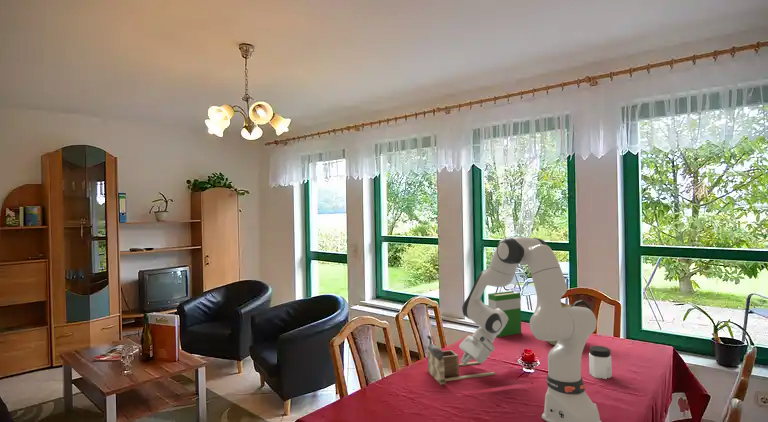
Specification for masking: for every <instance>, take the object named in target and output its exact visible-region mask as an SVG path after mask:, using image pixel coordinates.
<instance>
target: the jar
mask: <svg viewBox="0 0 768 422" xmlns="http://www.w3.org/2000/svg"><path fill="white" fill-rule="evenodd" d="M588 364H589V366H588V367H589V368H588V369H589V375H590V376H592V377H593V378H595V379H601V378H602V379H601V380H607V378H608V379H611V378H612V377H613V373H612V371H613V370H612V369H613V368H612V367H613V366H612V354H611V349H610V348H609V347H606V346H602V345H601V346H600V345H592V346H590V347H589V353H588Z"/></svg>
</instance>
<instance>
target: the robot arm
mask: <svg viewBox="0 0 768 422" xmlns="http://www.w3.org/2000/svg"><path fill="white" fill-rule="evenodd" d="M556 256H557V255H555V253H554V251H553V250H552V248H551V247H550V246H549V245H548V243H546V240H543V239H541V238H538V237H525V236H515V237H506V238H503V239H501V240H499V242H498V244H497V246H496V248H495V250H494V253H493V255H492V257H491V260H490V264H489V266H488V267H487V268H486V269H484V270H482V271H481V272H480V274H479V275H478V277H477V278H476V280H475V282H474V284H473V286H472V288H471V290H470V292H469V294H468V296H467V298H466V299H465V301H464V302H463V303H462V307H461V310H462V315H463V316H464V317H465V318H467V319H468V320H470V321H472V322H473V323H475V325H477V326H479V327H478V328H477V329H476V330H475V331H474V333H473V334H471V335H467V336H466V337H465V338H464V339H463V340H462V341H461V342H460V343H459V346H458V347H459V349H461V351H463V355H462V357H461V359H460V362H461V363H463V364H465V365H466V364H467V363H469V362H472V360H475V362H479V363H480V364H479V365H481V364H483V363H484V362H486V360H487V359H488V358H489V357H490V356H491V353H493V352H494V351H495V349H496V348H495V346H494V343H493V342H495V339H496V338H497V337H496V336H497V335H498V334H500V332H501V331H502V330H503V328H504V327H505V325H506V324H507V322H508V316H507V315H506V313H505V312H504V311H503V310H501V309H499V308H496V309H495V310H494V309H491V308H490V307H489V305H487V304H485V303H484V302H483V301H482V299H481V298H482V296H483V294H484V292H485V290H486V288H487V286H489V287H495V288H502V287H507V286H509V285H510V284H511V283H512V282H513V280H514V277H515V274H516V271H517V268H518V267H517V266H518V265H527V266H528V268H529V273H530V276H531V279H532V281H533V285H534V289H535V293H536V307H535V311H534V313H533V314H532V315H531V317H530V319H529V330H530V332H531V334H532V335H533V336H534V338H535V339H537V340H540V341H545V342H548V341H556V340H558V341H557V343H556V345H553V347H552V348H551V349H550V350H549V352H548V355H547V368H548V369H547V370H548V371H547V372H548V373H547V376H546V383H547V386H548V387H547V390H546V393H545V396H544V408H543V409H544V410H543V413H542V414H541V419H543V420H544V421H546V422H602V420H601V418H600V413H599V412H600V411H599V410H598V406H597V403H594V402H593V400H592V399H591V398H590V397H589V395H588V394H587V393H586V389H587V387H586V386H587V384H584V383H585V382H584V380H583V377H582V355H583V351H584V349H585V345H586V343H587V341H588V339H589V338H590V336H591V335H592V334H593V333H594V332H595V331H596V330H597V329H596V328H597V325H598V320H597V317H596V315H595V313H594V312H593V310H592V311H591V310H590V309H588V308H586V306H578V307H577V306H574V307H565V308H562V306H561V302H562V297H563V296H564V295H565V294H566V293H567V290H568V286H567V282H566V280H565V276H564V274H563V271H562V268H561V265H560V263H559V260H558V258H557V257H556Z"/></svg>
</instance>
